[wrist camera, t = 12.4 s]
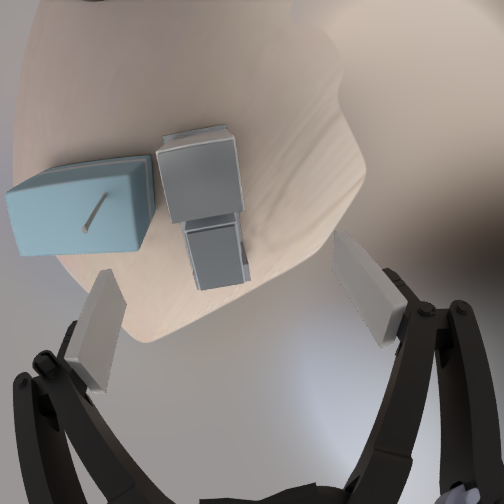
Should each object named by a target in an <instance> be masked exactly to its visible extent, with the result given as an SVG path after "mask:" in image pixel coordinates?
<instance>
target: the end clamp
mask: <svg viewBox="0 0 504 504" xmlns="http://www.w3.org/2000/svg"><path fill="white" fill-rule="evenodd" d="M240 245H241V252H242V253H241V256H242V263H243V269H244V276H245V282H246V281H251V278H250V271H249V264H248V260H247V257H246V253H245V249H244V245H243V242H242V243H240ZM193 276H194V280H195V283H196V287H197V290H199V286H198V282H197V278H195V274H194V270H193Z"/></svg>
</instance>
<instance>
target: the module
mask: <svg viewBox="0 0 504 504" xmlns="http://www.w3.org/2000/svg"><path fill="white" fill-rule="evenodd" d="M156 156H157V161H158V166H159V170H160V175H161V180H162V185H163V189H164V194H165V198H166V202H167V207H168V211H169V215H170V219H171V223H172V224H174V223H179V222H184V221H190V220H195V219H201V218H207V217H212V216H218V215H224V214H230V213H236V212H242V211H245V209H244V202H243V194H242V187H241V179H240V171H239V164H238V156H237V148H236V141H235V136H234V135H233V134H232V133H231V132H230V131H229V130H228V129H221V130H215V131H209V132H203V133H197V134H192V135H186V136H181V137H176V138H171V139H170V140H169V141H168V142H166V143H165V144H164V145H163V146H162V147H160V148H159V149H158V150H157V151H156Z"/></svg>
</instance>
